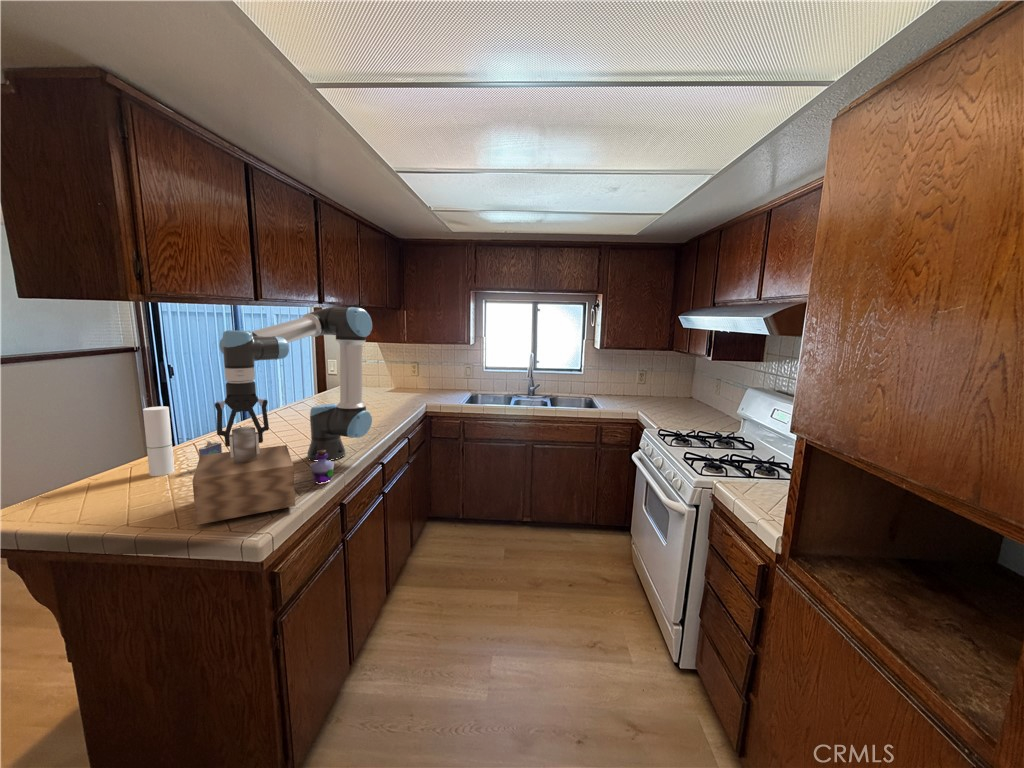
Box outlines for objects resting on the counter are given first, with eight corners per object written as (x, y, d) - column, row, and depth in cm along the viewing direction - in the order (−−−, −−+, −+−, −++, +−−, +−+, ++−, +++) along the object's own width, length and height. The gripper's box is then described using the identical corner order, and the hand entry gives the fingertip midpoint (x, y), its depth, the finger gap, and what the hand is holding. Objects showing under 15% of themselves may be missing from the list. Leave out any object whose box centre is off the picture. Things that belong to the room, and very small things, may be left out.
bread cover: (288, 480, 143) (285, 417, 140) (295, 505, 124) (291, 433, 120) (203, 493, 130) (198, 424, 127) (196, 525, 110) (189, 444, 107)
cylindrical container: (175, 468, 156) (169, 405, 152) (173, 474, 150) (167, 409, 147) (150, 471, 152) (144, 407, 148) (148, 477, 146) (141, 410, 143)
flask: (204, 471, 154) (202, 444, 152) (197, 471, 154) (195, 444, 153) (224, 463, 163) (222, 438, 161) (218, 463, 163) (216, 437, 162)
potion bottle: (330, 486, 143) (329, 454, 142) (305, 486, 143) (304, 454, 141) (339, 477, 152) (338, 447, 150) (315, 477, 151) (314, 446, 150)
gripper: (200, 384, 113) (206, 462, 117) (277, 381, 124) (281, 453, 127) (202, 381, 119) (208, 455, 123) (275, 378, 130) (279, 447, 133)
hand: (245, 454), depth 125 cm, fingers closed on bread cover, 6 cm apart
